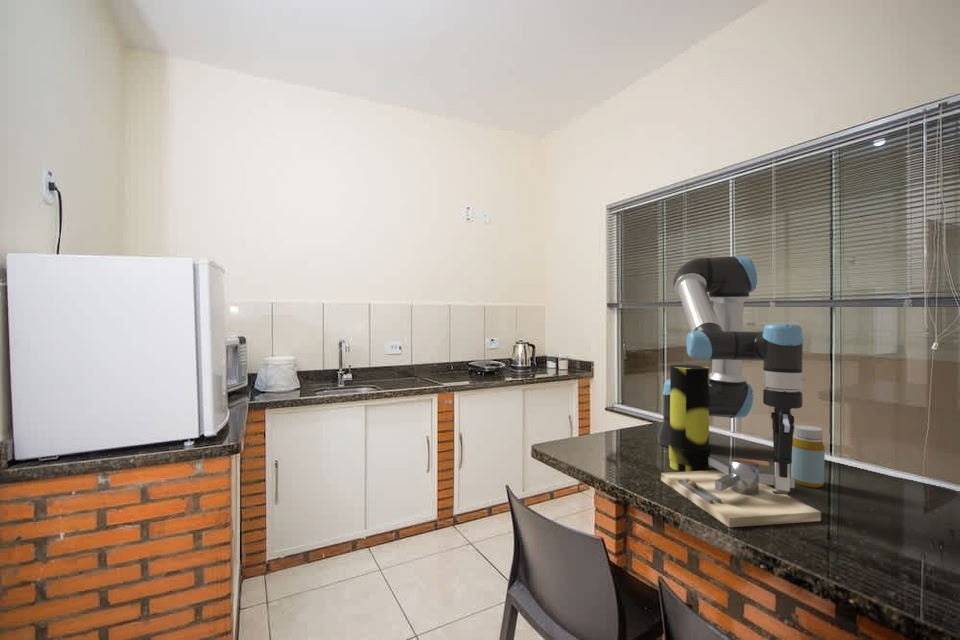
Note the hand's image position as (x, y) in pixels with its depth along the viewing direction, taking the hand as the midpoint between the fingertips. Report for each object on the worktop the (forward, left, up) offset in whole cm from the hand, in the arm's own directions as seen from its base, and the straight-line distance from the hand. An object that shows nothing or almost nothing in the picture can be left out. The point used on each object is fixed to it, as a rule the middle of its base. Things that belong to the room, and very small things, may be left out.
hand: (782, 489), depth 99 cm
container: (-26, -6, -4) cm, 27 cm away
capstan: (-4, -4, -2) cm, 6 cm away
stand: (-6, -8, -4) cm, 11 cm away
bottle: (-12, +19, -4) cm, 22 cm away
